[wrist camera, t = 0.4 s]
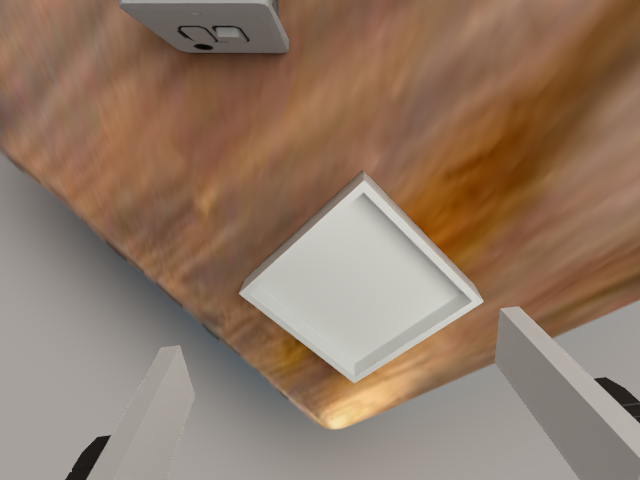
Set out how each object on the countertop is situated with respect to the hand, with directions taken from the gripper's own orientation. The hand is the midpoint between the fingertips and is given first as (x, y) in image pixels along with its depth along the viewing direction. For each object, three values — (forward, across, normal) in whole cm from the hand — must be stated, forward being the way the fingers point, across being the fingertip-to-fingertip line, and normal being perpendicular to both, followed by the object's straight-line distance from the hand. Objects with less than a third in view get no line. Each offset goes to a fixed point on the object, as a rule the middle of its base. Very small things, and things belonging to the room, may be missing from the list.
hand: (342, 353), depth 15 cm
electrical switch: (+22, -6, +17) cm, 28 cm away
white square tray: (+23, +3, -10) cm, 25 cm away
